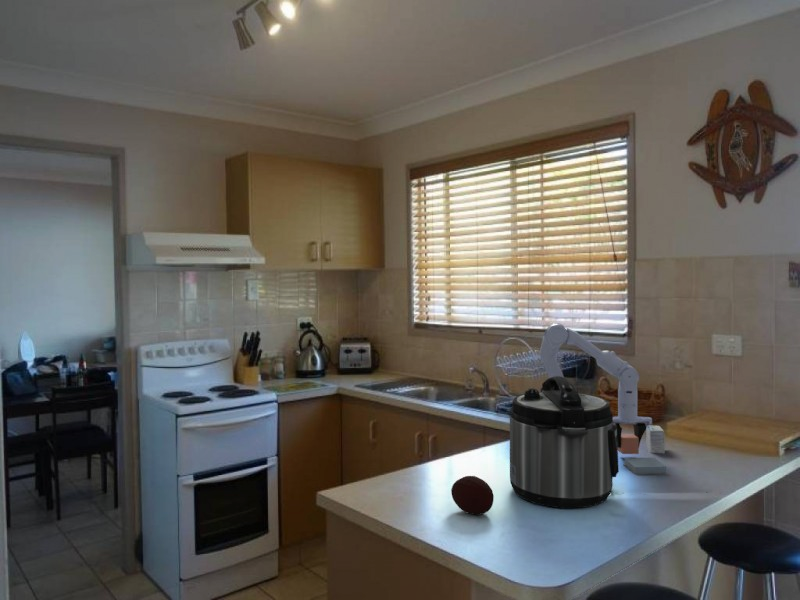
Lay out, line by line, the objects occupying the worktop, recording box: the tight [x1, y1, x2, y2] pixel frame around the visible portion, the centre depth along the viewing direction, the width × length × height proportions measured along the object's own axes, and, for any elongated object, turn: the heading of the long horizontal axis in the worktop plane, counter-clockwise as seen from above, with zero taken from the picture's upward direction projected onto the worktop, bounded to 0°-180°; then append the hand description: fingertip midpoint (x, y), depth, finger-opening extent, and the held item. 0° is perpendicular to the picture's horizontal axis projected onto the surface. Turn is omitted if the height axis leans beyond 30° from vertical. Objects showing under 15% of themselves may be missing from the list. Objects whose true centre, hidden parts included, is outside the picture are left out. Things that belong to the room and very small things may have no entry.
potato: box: [450, 475, 495, 515], centre depth 158 cm, size 9×12×9 cm
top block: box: [624, 457, 667, 475], centre depth 187 cm, size 9×9×2 cm
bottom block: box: [623, 464, 669, 476], centre depth 187 cm, size 10×10×2 cm
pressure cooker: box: [509, 376, 620, 509], centre depth 171 cm, size 30×28×32 cm
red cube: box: [618, 433, 640, 455], centre depth 199 cm, size 5×5×5 cm
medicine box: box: [645, 424, 666, 454], centre depth 208 cm, size 8×4×9 cm, turn 168°
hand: (627, 447), depth 199 cm, fingers closed on red cube, 5 cm apart
